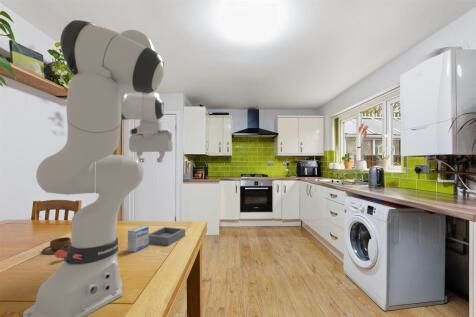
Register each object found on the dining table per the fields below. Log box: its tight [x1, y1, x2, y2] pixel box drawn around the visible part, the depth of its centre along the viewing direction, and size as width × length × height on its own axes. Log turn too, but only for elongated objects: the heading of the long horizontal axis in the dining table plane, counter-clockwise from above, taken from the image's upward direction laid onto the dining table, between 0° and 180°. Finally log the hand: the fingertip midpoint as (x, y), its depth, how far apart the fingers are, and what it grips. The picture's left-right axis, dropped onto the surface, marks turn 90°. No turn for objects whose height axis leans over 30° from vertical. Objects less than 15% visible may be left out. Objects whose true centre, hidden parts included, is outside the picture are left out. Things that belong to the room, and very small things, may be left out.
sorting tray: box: [149, 226, 186, 247], centre depth 114 cm, size 12×14×4 cm
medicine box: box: [127, 225, 150, 253], centre depth 102 cm, size 8×4×9 cm, turn 161°
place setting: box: [41, 236, 71, 260], centre depth 96 cm, size 18×20×6 cm
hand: (150, 162), depth 102 cm, fingers open, 8 cm apart
